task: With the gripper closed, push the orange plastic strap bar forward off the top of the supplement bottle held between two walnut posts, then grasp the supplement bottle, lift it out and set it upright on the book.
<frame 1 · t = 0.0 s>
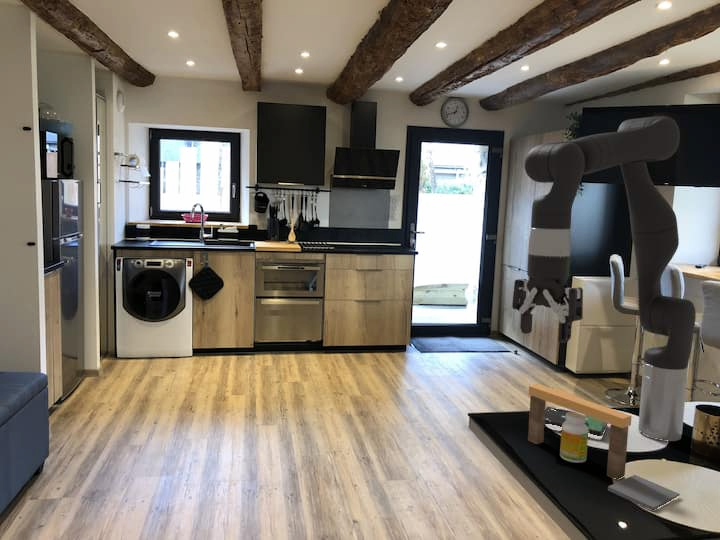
hand: (544, 337, 110), 29 cm above the table, tool pointing down, fingers open, 8 cm apart
strap bar: (576, 404, 124), point 12 cm above the table, slide at 0.0 cm
supplement bottle: (572, 458, 125), on the table
disk drive: (572, 429, 143), on the table
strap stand: (573, 457, 125), on the table
book: (643, 494, 110), on the table
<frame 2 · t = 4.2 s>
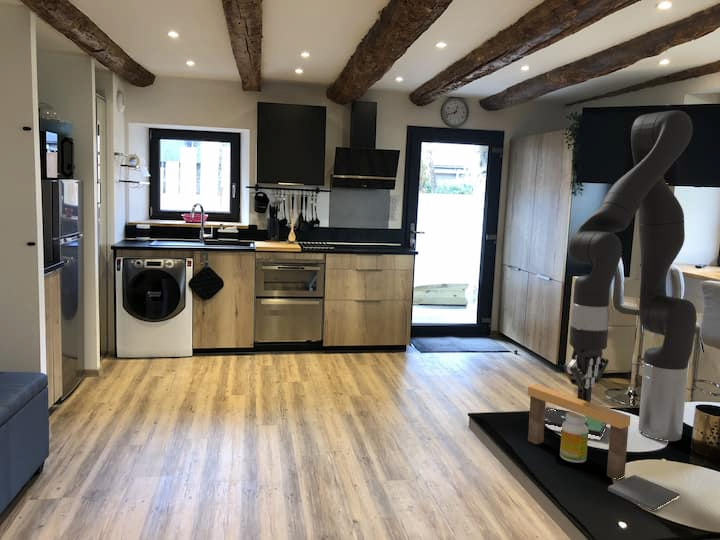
hand: (583, 403, 125), 12 cm above the table, tool pointing down, fingers closed
strap bar: (575, 404, 124), point 12 cm above the table, slide at 0.4 cm, touching gripper
everything else where it was.
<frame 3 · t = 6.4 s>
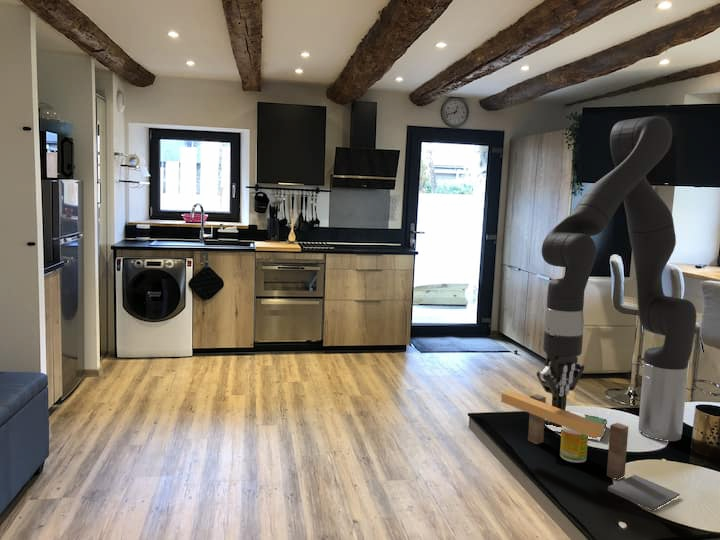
hand: (558, 411, 121), 12 cm above the table, tool pointing down, fingers closed
strap bar: (549, 412, 119), point 12 cm above the table, slide at 9.0 cm, touching gripper
everything else where it was.
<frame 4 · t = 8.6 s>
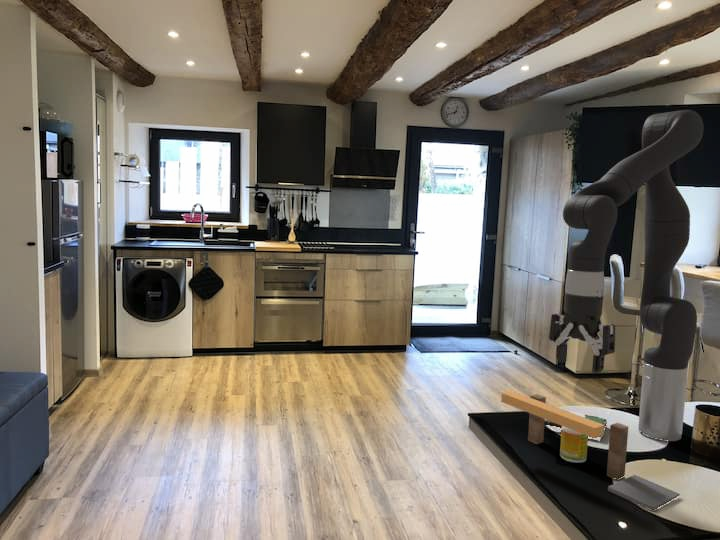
hand: (578, 367, 123), 20 cm above the table, tool pointing down, fingers open, 8 cm apart
strap bar: (549, 412, 119), point 12 cm above the table, slide at 9.0 cm
everything else where it was.
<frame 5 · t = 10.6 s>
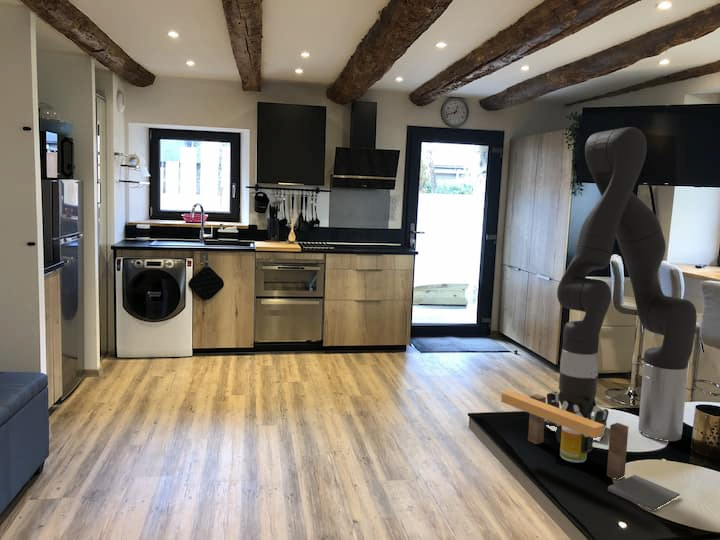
hand: (573, 446, 125), 3 cm above the table, tool pointing down, fingers closed on supplement bottle, 5 cm apart
supplement bottle: (572, 458, 125), on the table, touching gripper
everything else where it was.
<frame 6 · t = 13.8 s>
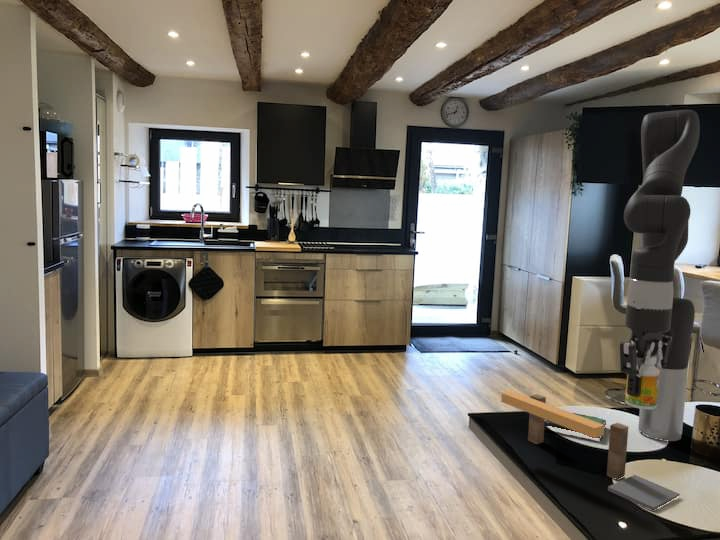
hand: (642, 392, 109), 20 cm above the table, tool pointing down, fingers closed on supplement bottle, 5 cm apart
supplement bottle: (640, 406, 109), point 17 cm above the table, touching gripper
when the fingers open (4 cm above the table, at t = 17.4 s): supplement bottle stays where it is, resting on book.
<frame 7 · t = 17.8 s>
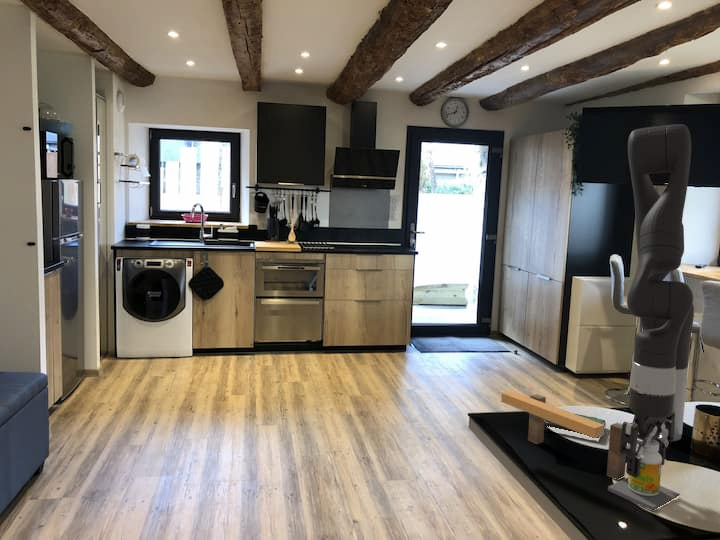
hand: (645, 469, 110), 5 cm above the table, tool pointing down, fingers open, 8 cm apart
supplement bottle: (643, 490, 110), point 1 cm above the table, touching book
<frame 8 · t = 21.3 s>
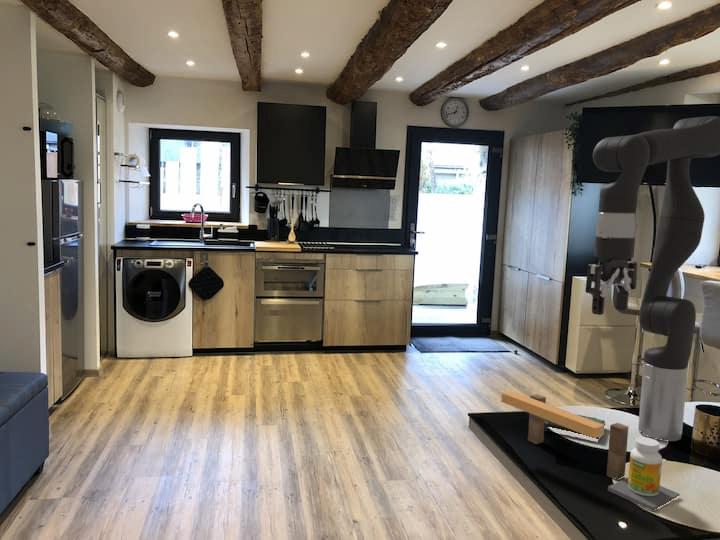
hand: (609, 312, 122), 32 cm above the table, tool pointing down, fingers open, 8 cm apart
at the end: strap bar slide at 9.0 cm; supplement bottle inside the target area on the book (0.1 cm from its centre), point 0.6 cm above the book's base; supplement bottle tilted 0° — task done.
